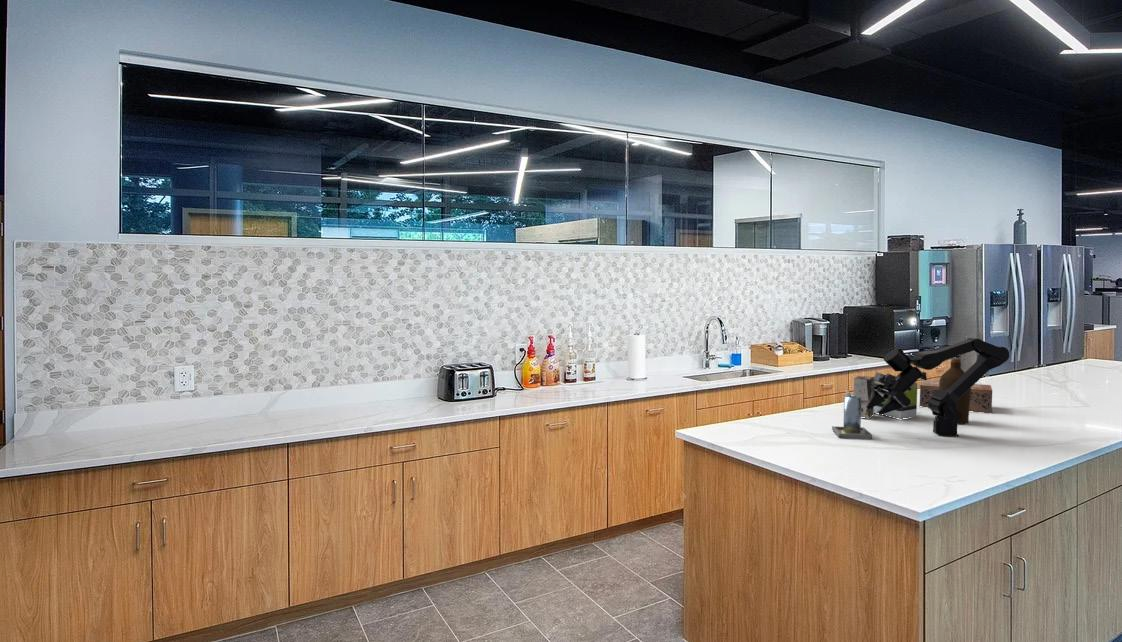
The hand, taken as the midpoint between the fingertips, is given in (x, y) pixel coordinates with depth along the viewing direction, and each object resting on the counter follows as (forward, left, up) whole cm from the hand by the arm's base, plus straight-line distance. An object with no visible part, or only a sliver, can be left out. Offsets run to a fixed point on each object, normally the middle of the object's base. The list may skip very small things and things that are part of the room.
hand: (873, 411), depth 222 cm
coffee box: (-5, -31, -9) cm, 32 cm away
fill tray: (+7, +1, -9) cm, 12 cm away
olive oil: (-37, -27, -9) cm, 46 cm away
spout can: (+7, +1, -8) cm, 11 cm away
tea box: (-17, -35, -9) cm, 39 cm away
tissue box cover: (-48, -56, -9) cm, 74 cm away
